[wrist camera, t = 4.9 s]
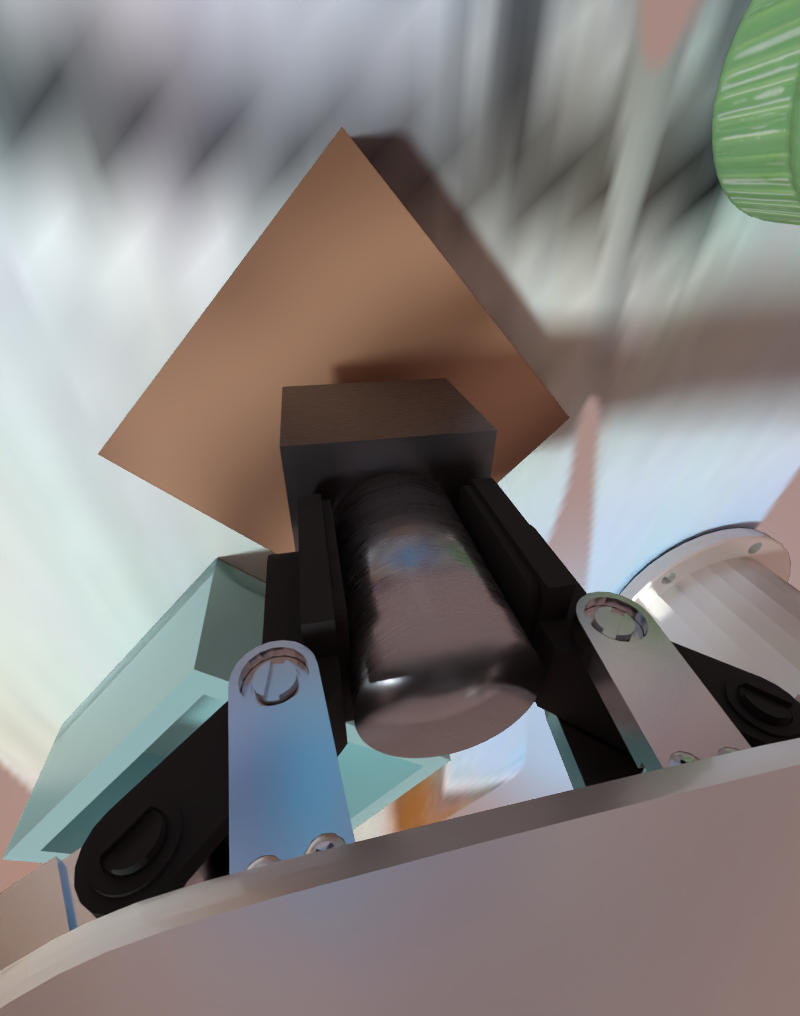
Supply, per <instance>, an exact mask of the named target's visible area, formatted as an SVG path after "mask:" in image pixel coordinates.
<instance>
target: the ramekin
mask: <svg viewBox="0 0 800 1016" xmlns="http://www.w3.org/2000/svg"><path fill="white" fill-rule="evenodd" d="M712 151H713V158H714V164H715V169H716V173H717V177H718V179H719V182H720V184H721V186H722V189H723V190H724V192H725V194H726V195H727V196H728V198H729V200H730V201H731V202H732V203H733V204H734V205H735V206H736V207H737V208H738V209H739V210H741V211H742V212H744V213H746V214H748V215H749V216H751V217H756V218H759V219H761V220H764V221H770V222H777V223H786V224H795V225H800V0H752V1H751V3H750V4H749V6H748V8H747V10H746V12H745V14H744V16H743V18H742V20H741V23H740V25H739V27H738V29H737V32H736V34H735V37H734V39H733V42H732V44H731V47H730V49H729V52H728V54H727V57H726V60H725V63H724V66H723V69H722V73H721V76H720V80H719V85H718V89H717V94H716V99H715V103H714V110H713V120H712Z"/></svg>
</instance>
